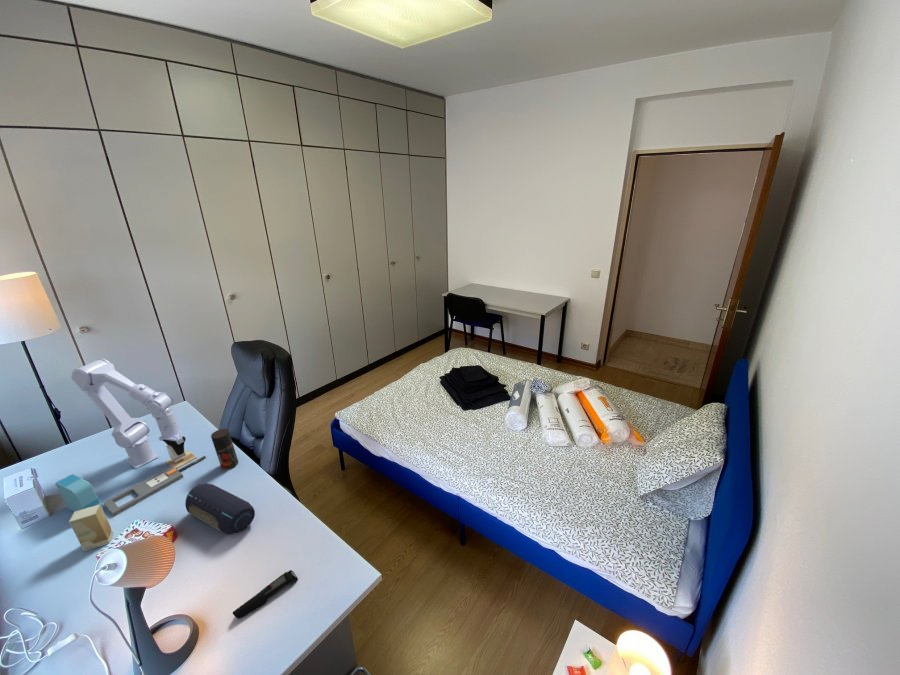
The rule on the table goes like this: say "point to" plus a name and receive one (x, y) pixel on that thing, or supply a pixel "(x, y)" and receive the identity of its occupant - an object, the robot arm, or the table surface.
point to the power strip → (147, 488)
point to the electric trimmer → (265, 594)
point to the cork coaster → (181, 462)
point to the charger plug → (174, 455)
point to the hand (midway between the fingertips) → (178, 452)
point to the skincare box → (91, 527)
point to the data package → (77, 493)
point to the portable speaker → (219, 508)
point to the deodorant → (224, 449)
